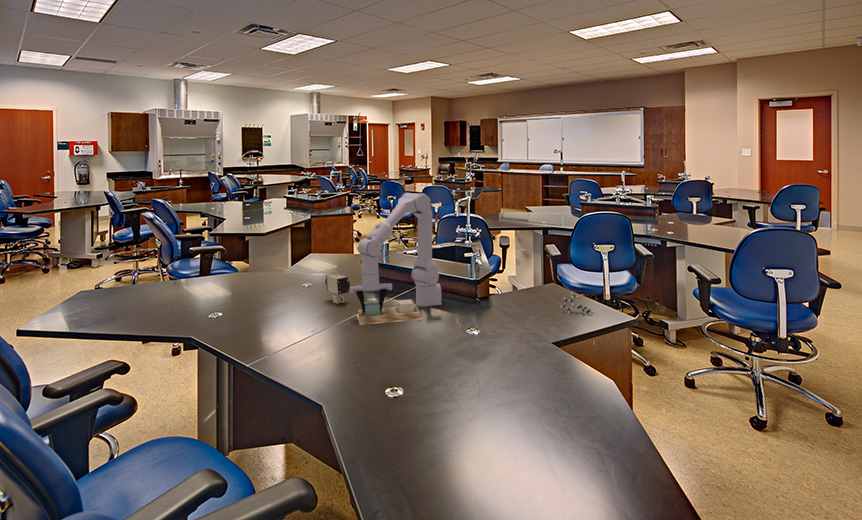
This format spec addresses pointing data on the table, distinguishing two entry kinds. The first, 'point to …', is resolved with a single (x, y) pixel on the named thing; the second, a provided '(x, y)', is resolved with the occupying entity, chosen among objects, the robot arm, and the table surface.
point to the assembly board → (388, 316)
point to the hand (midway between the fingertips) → (372, 310)
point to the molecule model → (575, 306)
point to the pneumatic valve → (337, 286)
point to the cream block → (405, 306)
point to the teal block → (372, 308)
